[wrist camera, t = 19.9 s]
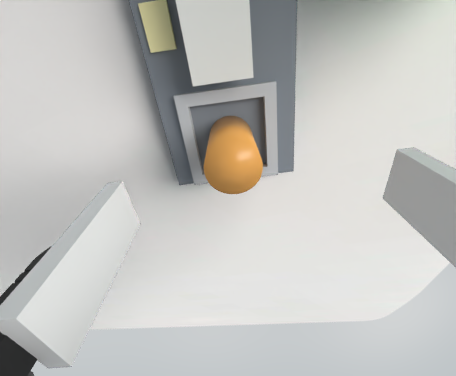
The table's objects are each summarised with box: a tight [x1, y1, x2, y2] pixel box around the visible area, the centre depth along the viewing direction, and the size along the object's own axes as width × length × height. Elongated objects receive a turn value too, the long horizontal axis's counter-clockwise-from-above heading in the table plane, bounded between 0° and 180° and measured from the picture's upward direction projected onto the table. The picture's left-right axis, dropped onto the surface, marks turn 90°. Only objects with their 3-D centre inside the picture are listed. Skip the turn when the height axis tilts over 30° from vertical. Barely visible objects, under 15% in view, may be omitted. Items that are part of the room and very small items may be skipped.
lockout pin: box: [204, 116, 263, 194], centre depth 18 cm, size 4×4×7 cm
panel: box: [129, 0, 297, 185], centre depth 17 cm, size 26×12×3 cm, turn 7°
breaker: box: [176, 0, 254, 86], centre depth 14 cm, size 8×4×2 cm, turn 7°
